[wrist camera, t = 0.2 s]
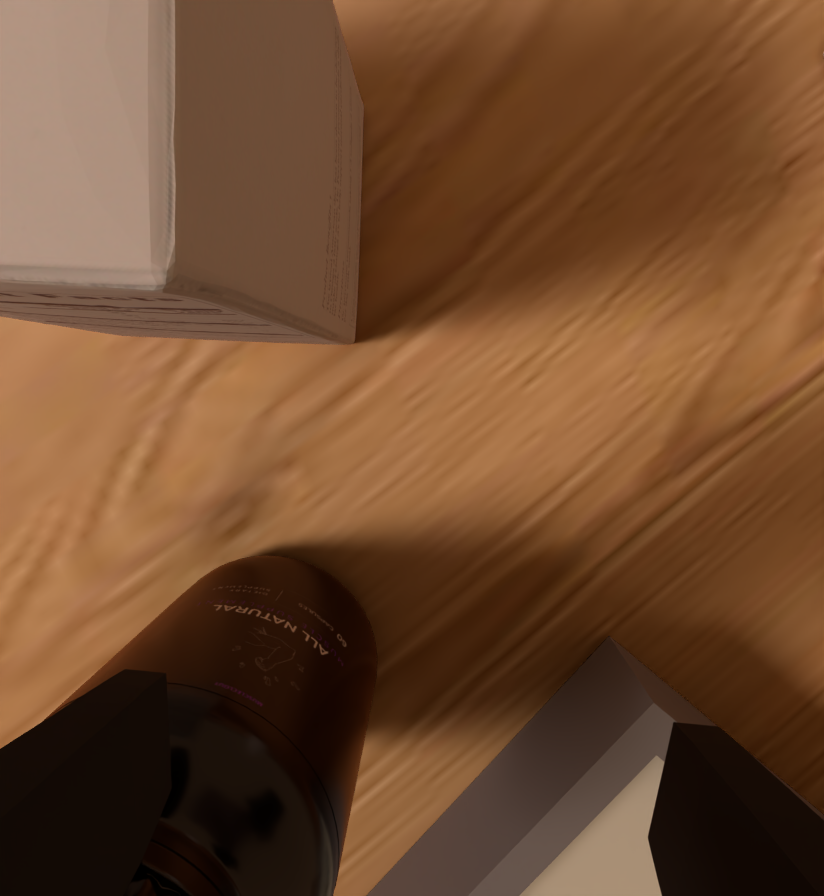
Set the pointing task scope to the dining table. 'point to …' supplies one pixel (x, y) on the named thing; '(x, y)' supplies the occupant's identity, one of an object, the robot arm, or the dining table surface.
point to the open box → (561, 796)
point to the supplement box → (180, 169)
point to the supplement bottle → (255, 729)
